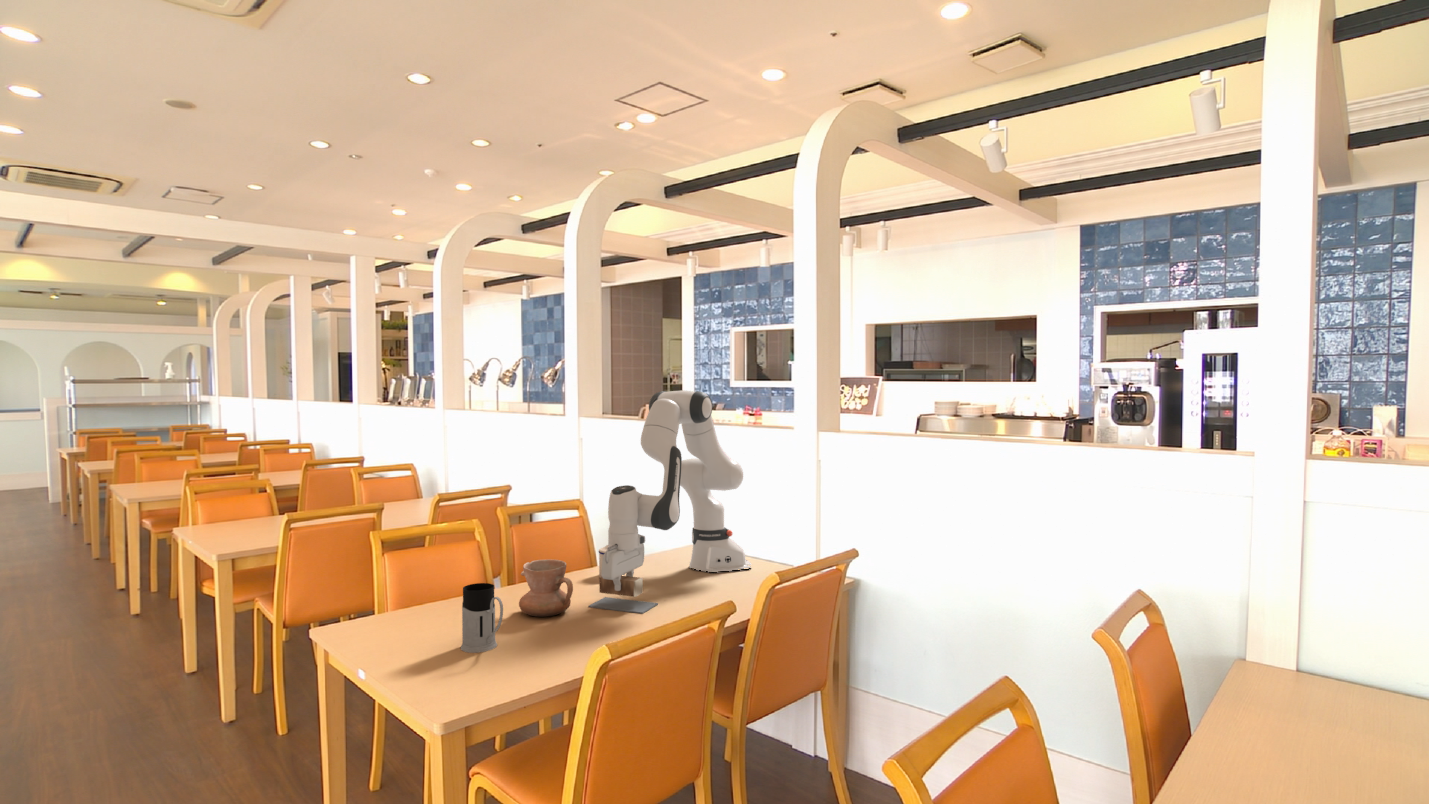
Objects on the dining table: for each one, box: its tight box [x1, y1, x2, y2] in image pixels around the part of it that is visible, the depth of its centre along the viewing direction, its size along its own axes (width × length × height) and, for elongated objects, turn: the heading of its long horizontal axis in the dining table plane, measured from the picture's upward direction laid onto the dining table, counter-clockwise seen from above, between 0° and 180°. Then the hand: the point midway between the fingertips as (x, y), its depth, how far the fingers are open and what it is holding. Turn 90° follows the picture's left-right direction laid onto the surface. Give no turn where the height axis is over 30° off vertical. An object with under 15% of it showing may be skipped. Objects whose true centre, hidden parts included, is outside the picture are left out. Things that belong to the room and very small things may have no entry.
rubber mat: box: [588, 596, 659, 615], centre depth 224 cm, size 18×10×1 cm, turn 69°
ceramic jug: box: [518, 559, 574, 618], centre depth 216 cm, size 18×14×14 cm
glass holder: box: [460, 582, 504, 654], centre depth 187 cm, size 9×14×15 cm, turn 51°
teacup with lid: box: [598, 544, 608, 578], centre depth 261 cm, size 12×9×12 cm
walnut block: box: [598, 575, 644, 598], centre depth 224 cm, size 4×4×12 cm
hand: (623, 587), depth 223 cm, fingers closed on walnut block, 4 cm apart
